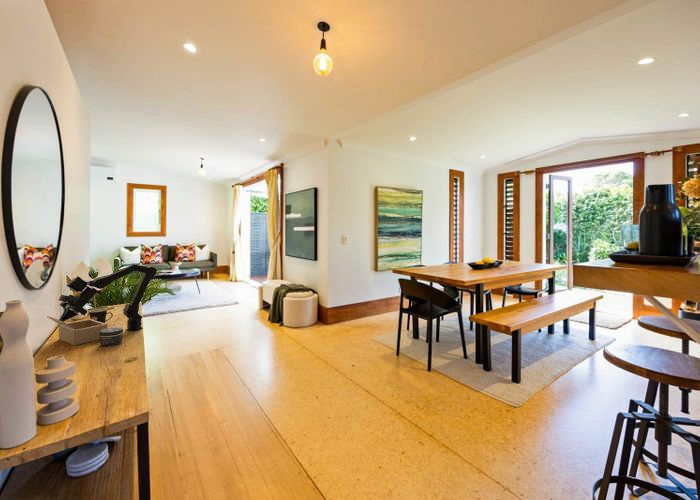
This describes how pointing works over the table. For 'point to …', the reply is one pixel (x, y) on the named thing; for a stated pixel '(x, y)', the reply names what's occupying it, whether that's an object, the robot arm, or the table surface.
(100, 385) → the table surface
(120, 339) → the jar
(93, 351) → the table surface
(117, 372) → the table surface
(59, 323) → the carton flap
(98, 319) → the coffee mug
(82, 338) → the shipping carton
